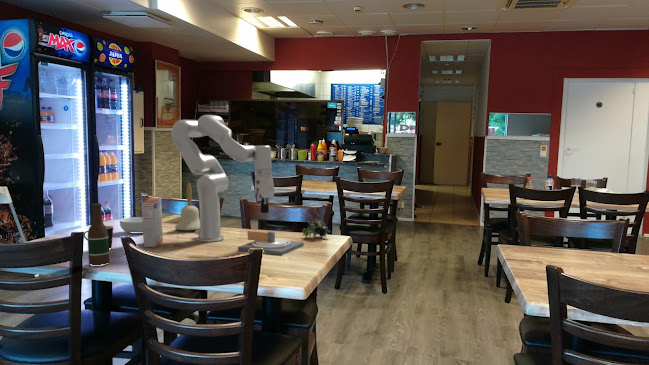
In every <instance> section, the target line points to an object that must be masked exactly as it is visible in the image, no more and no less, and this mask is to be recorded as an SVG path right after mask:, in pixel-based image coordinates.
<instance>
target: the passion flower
mask: <svg viewBox="0 0 649 365" xmlns="http://www.w3.org/2000/svg"><path fill="white" fill-rule="evenodd" d="M307 223H308V227H307V229H306V228H303V229H302V231H301V233H302V235H303V237H304V236H305V238H307V237H311V236H312V240H314V239H315V237H316V236H317V235H318V234H319V237H320V238H323V237H326V232H327V233H328V234H330V233H332V232H331V230H330V229H329V227H328V226H327V224H326V223H325V221H324V220H321V219H314V220H313V221H309V220H308V221H307ZM312 234H313V235H312Z"/></svg>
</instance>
